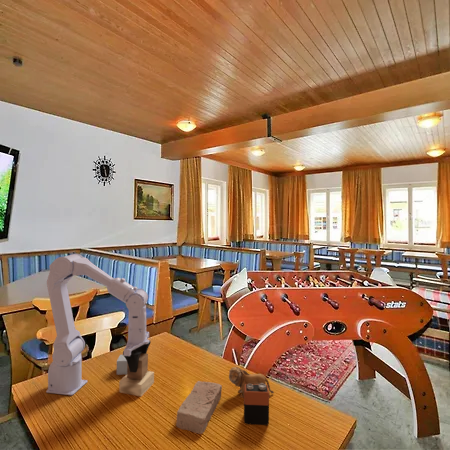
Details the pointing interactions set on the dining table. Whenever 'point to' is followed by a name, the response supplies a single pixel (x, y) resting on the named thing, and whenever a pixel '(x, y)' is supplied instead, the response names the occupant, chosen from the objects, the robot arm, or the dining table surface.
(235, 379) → the lion figurine
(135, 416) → the dining table surface
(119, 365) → the slate block
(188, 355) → the dining table surface
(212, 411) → the brick
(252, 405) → the battery
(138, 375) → the walnut block
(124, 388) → the base block
